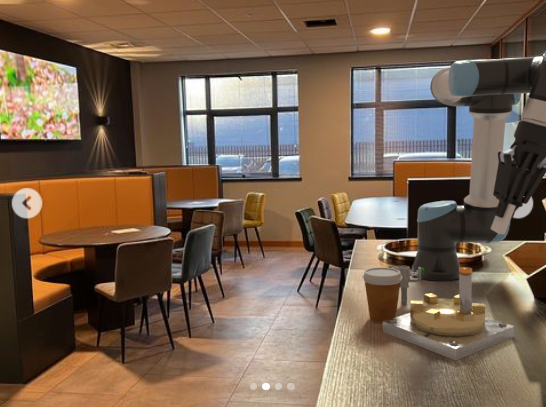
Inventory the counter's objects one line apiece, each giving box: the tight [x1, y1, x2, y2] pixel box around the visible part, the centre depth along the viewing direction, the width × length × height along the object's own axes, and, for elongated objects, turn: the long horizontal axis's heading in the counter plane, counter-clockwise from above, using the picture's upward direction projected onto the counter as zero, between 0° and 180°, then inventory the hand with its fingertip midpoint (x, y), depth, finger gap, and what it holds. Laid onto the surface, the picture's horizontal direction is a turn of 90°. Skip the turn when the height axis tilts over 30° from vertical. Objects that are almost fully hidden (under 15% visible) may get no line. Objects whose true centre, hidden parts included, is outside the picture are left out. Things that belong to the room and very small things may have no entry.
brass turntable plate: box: [409, 266, 486, 336], centre depth 117 cm, size 16×16×14 cm
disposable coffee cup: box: [362, 266, 402, 324], centre depth 128 cm, size 10×10×12 cm
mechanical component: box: [384, 265, 424, 305], centre depth 140 cm, size 3×10×10 cm, turn 79°
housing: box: [382, 312, 515, 362], centre depth 118 cm, size 20×20×3 cm
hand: (497, 231), depth 111 cm, fingers closed
